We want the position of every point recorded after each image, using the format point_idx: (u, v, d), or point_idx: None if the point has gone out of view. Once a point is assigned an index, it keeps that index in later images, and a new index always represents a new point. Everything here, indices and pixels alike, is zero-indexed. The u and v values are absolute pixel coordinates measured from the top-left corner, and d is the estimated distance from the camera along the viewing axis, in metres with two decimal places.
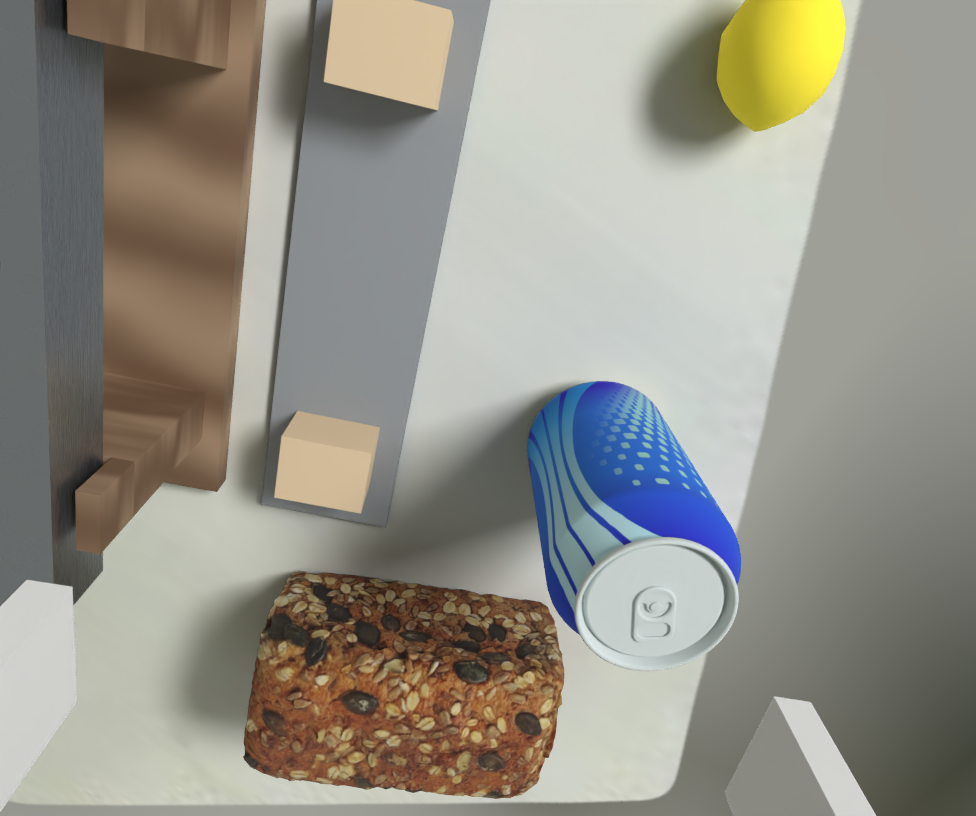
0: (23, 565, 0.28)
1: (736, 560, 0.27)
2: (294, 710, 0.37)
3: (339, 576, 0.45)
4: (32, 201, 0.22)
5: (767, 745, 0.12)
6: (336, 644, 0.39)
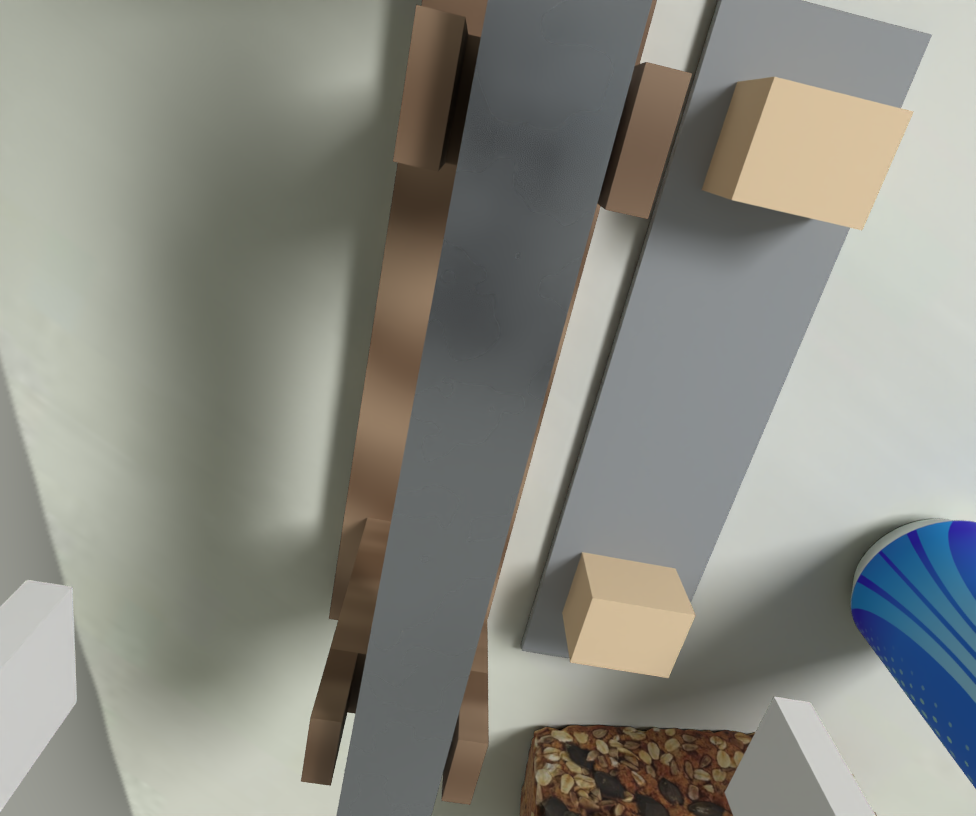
0: None
1: None
2: None
3: (588, 729, 0.39)
4: (523, 430, 0.16)
5: (767, 745, 0.12)
6: None
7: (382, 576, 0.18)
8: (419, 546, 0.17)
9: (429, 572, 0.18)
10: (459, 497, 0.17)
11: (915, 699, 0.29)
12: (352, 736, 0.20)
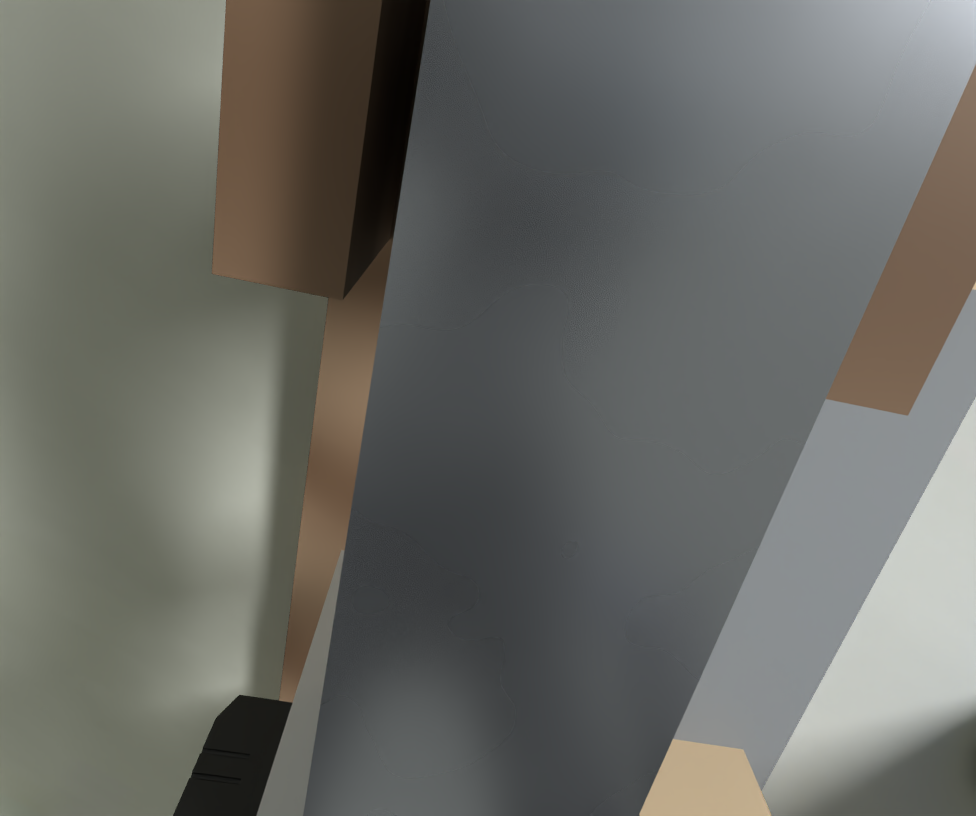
0: None
1: None
2: None
3: None
4: None
5: None
6: None
7: None
8: None
9: None
10: None
11: None
12: None
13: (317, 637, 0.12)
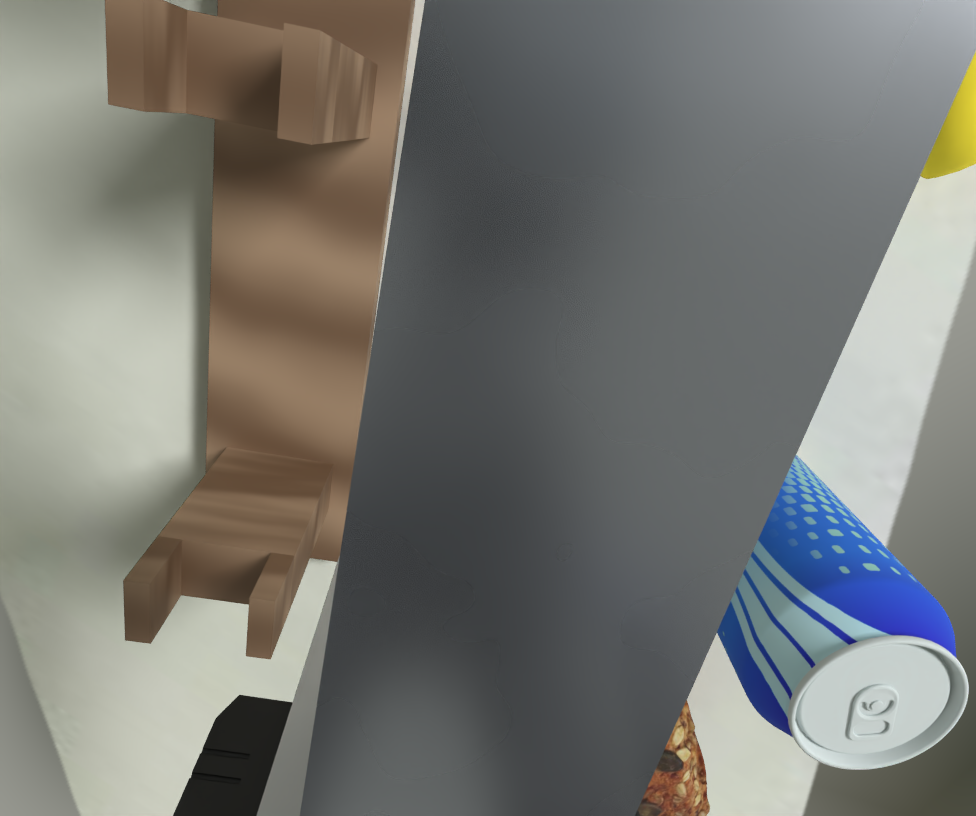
0: None
1: None
2: None
3: None
4: None
5: None
6: None
7: None
8: None
9: None
10: None
11: None
12: None
13: (317, 637, 0.12)
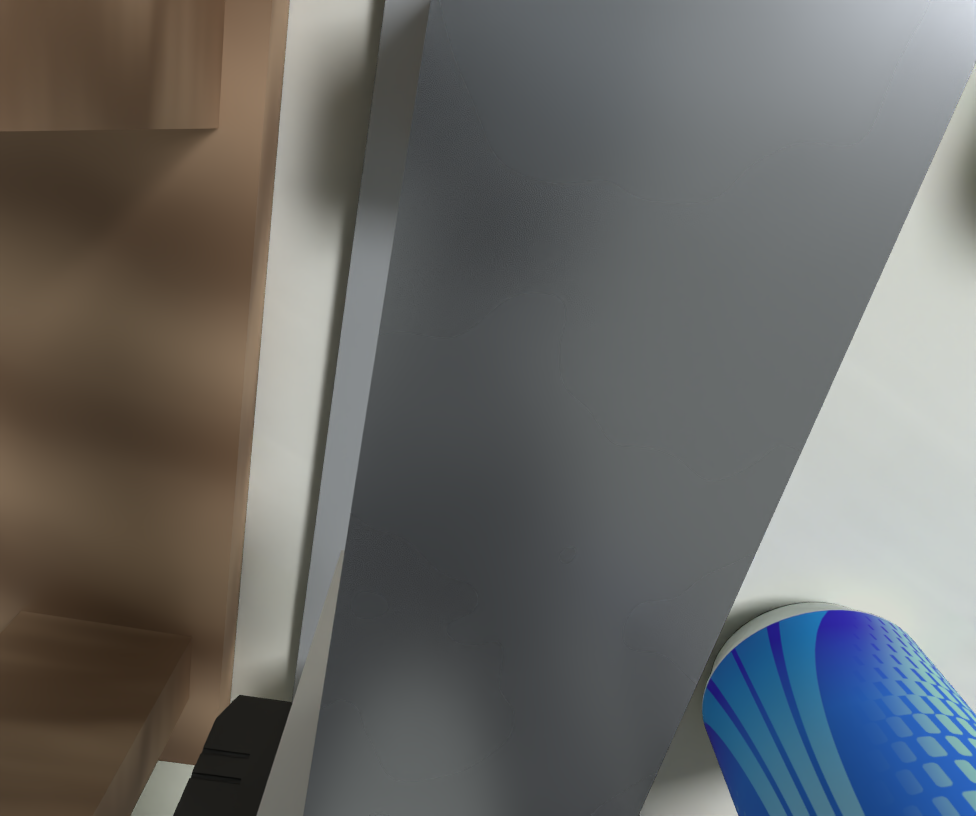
0: None
1: None
2: None
3: None
4: None
5: None
6: None
7: None
8: None
9: None
10: None
11: None
12: None
13: (317, 637, 0.12)
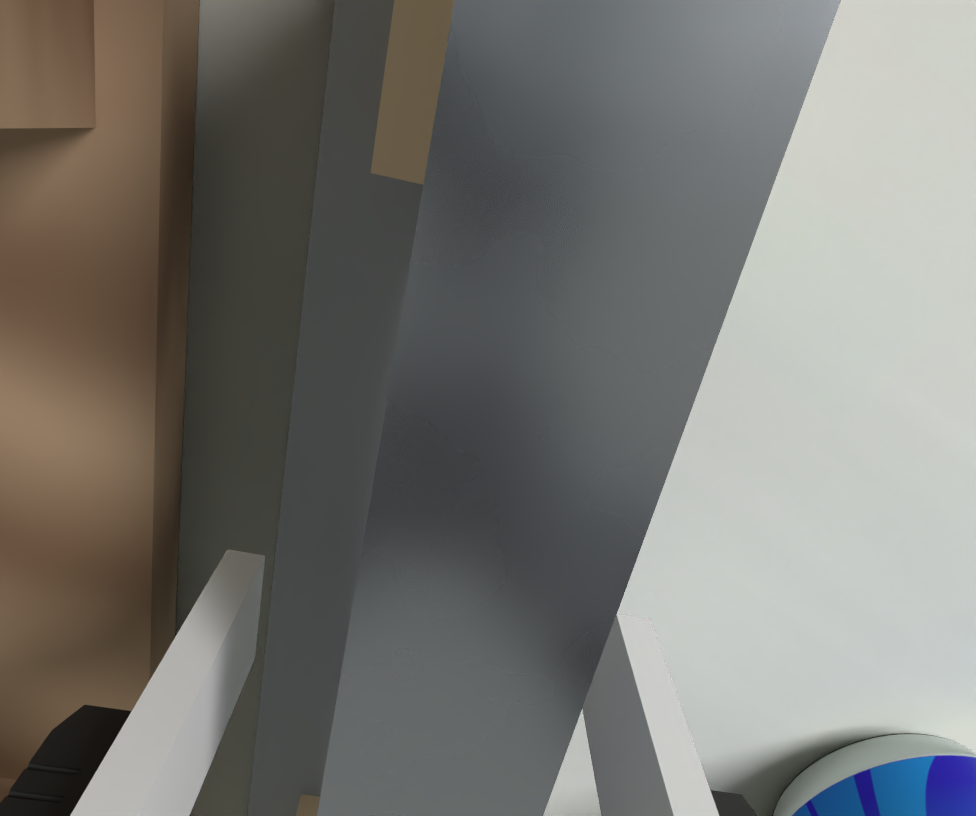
0: None
1: None
2: None
3: None
4: (552, 730, 0.08)
5: (609, 657, 0.14)
6: None
7: None
8: None
9: None
10: None
11: None
12: None
13: (177, 642, 0.11)
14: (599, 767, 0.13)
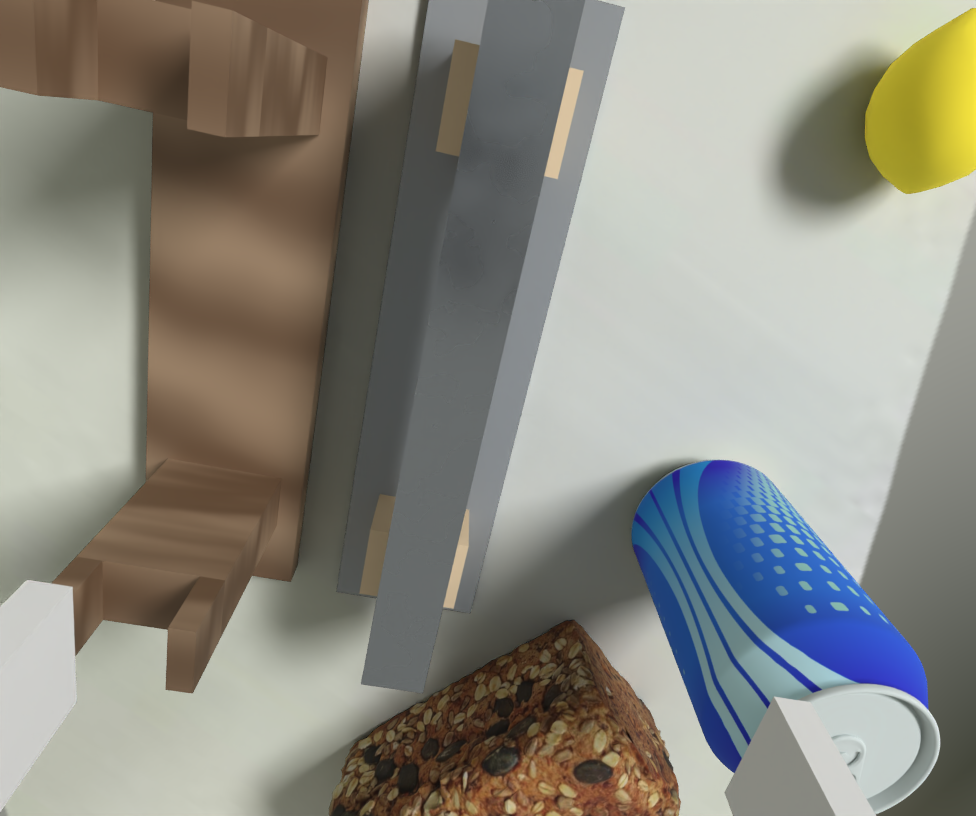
0: (408, 640, 0.31)
1: (927, 697, 0.24)
2: None
3: (385, 725, 0.43)
4: (499, 335, 0.25)
5: (767, 745, 0.12)
6: (381, 810, 0.37)
7: (407, 438, 0.27)
8: (432, 416, 0.26)
9: (438, 435, 0.27)
10: (458, 382, 0.26)
11: None
12: (384, 561, 0.29)
13: None
14: None
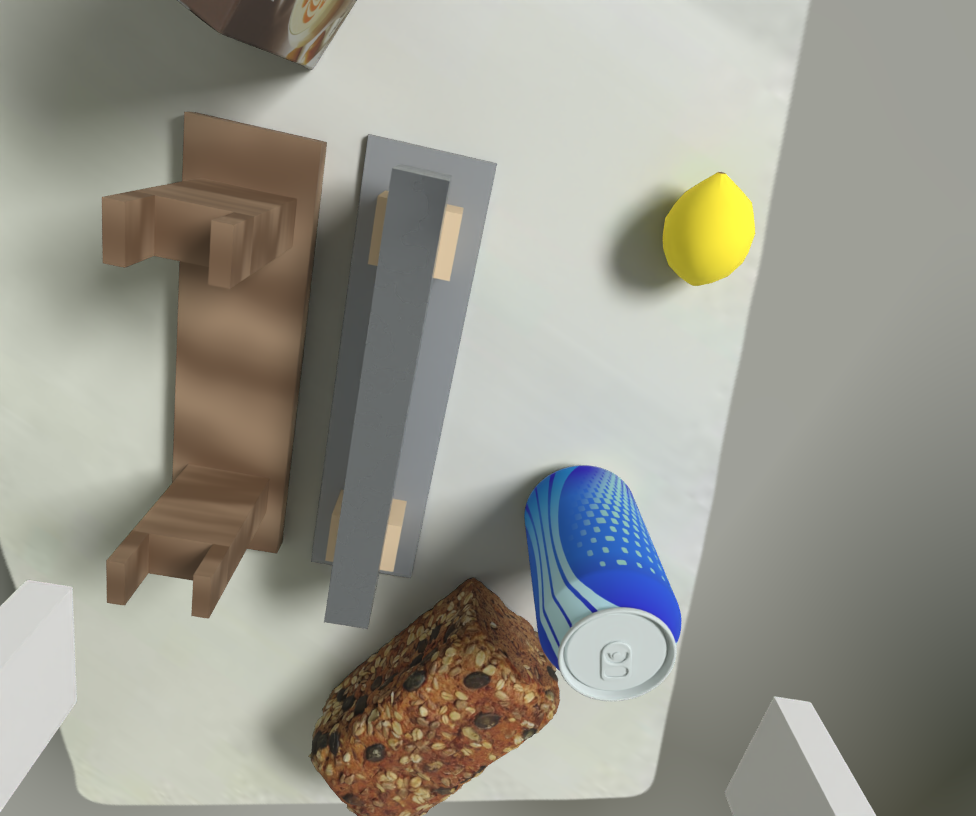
0: (355, 590, 0.44)
1: (676, 619, 0.38)
2: (352, 786, 0.50)
3: (351, 673, 0.57)
4: (406, 387, 0.39)
5: (767, 745, 0.12)
6: (342, 728, 0.51)
7: (350, 453, 0.40)
8: (365, 439, 0.40)
9: (370, 451, 0.40)
10: (381, 416, 0.39)
11: None
12: (337, 535, 0.43)
13: None
14: None
